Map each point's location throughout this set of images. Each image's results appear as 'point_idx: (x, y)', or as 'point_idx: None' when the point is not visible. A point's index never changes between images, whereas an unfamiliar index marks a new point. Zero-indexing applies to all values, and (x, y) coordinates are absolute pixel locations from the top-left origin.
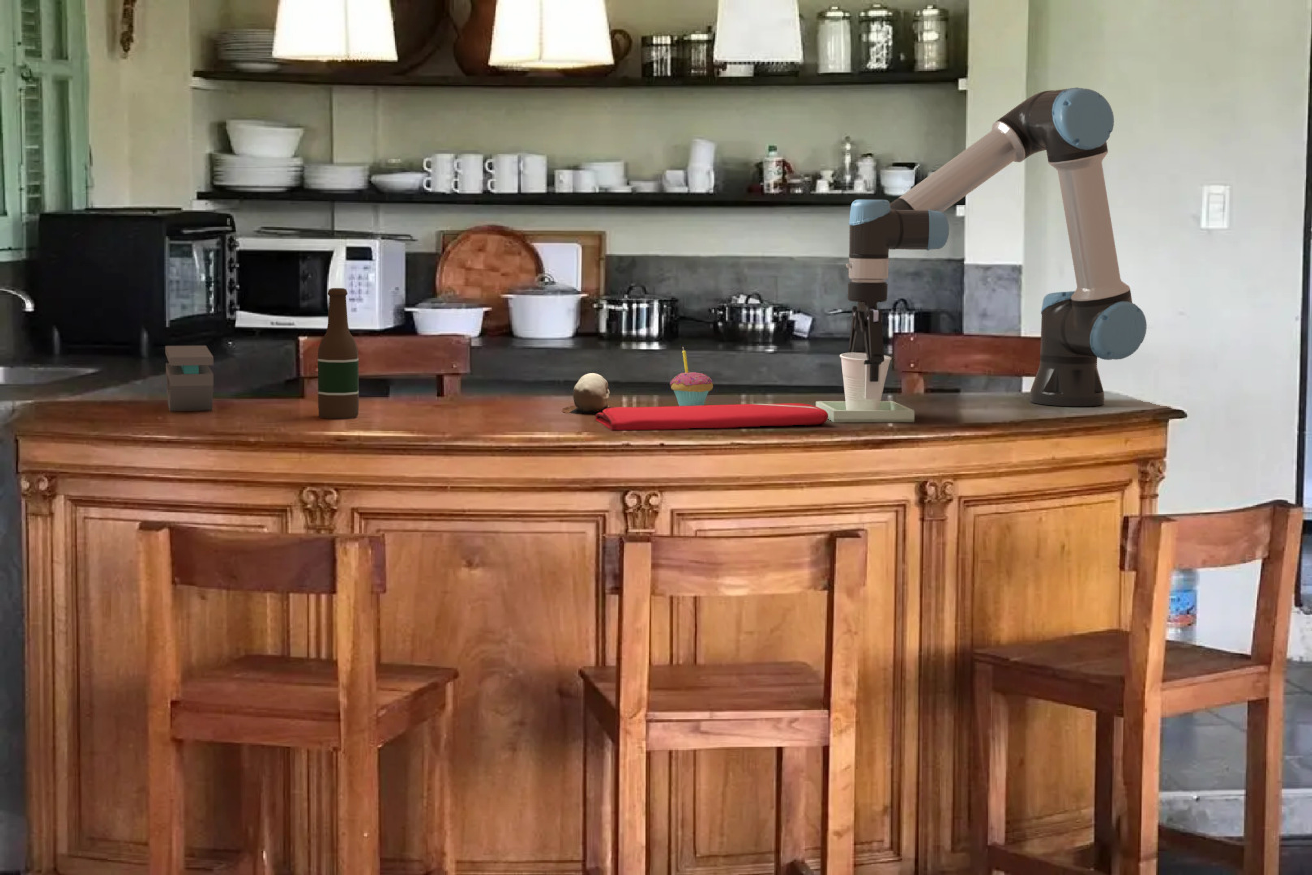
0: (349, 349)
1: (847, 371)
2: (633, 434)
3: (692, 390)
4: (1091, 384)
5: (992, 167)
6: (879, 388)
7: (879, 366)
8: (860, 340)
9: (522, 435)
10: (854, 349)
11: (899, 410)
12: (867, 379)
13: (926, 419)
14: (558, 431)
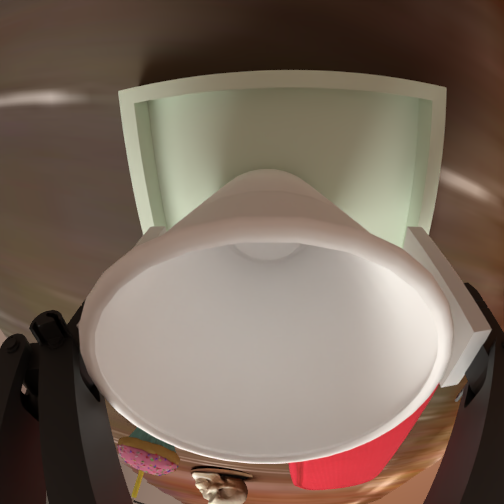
0: None
1: (318, 394)
2: (404, 463)
3: (179, 458)
4: None
5: None
6: (438, 251)
7: (485, 326)
8: (108, 475)
9: (377, 488)
10: (106, 422)
11: (439, 143)
12: None
13: (347, 11)
14: (364, 484)
